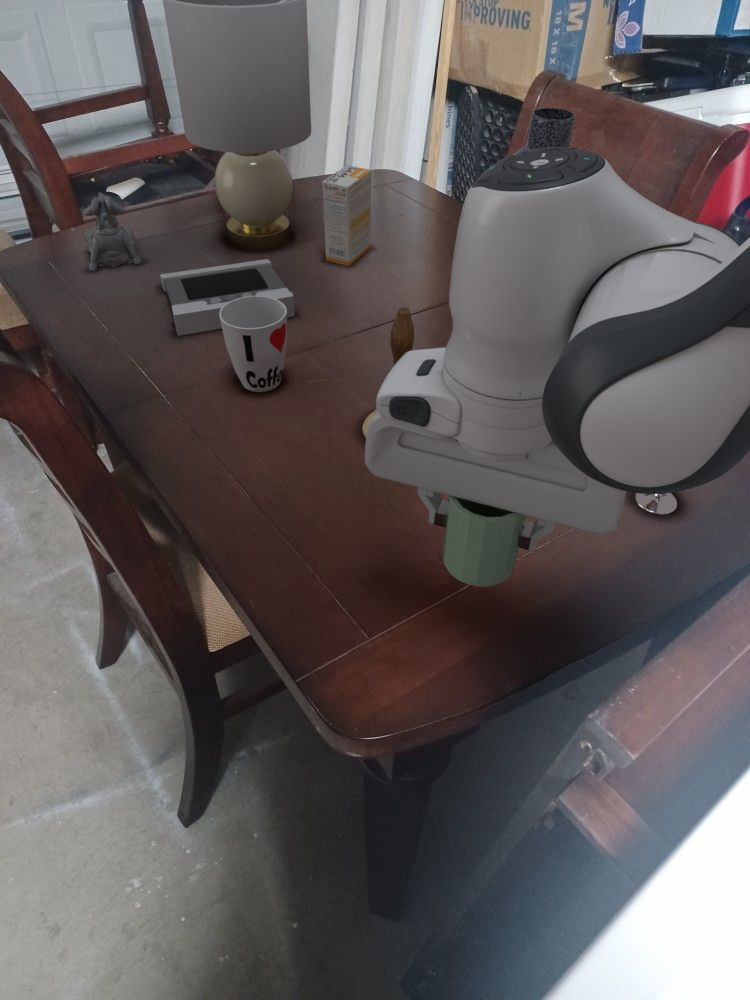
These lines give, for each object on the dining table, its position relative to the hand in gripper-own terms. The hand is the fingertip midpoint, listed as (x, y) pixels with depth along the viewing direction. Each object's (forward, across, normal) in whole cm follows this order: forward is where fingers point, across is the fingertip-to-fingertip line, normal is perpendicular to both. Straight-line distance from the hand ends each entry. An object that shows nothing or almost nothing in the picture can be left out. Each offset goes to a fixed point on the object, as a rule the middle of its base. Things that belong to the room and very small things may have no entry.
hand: (482, 532), depth 59 cm
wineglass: (+10, -15, -21) cm, 28 cm away
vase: (+10, +8, -52) cm, 53 cm away
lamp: (+9, +56, -64) cm, 86 cm away
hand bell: (+10, +16, -22) cm, 29 cm away
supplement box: (+9, +40, -64) cm, 76 cm away
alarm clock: (+9, +50, -42) cm, 66 cm away
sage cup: (+3, 0, 0) cm, 3 cm away
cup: (+9, +36, -25) cm, 44 cm away
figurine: (+9, +76, -48) cm, 90 cm away
